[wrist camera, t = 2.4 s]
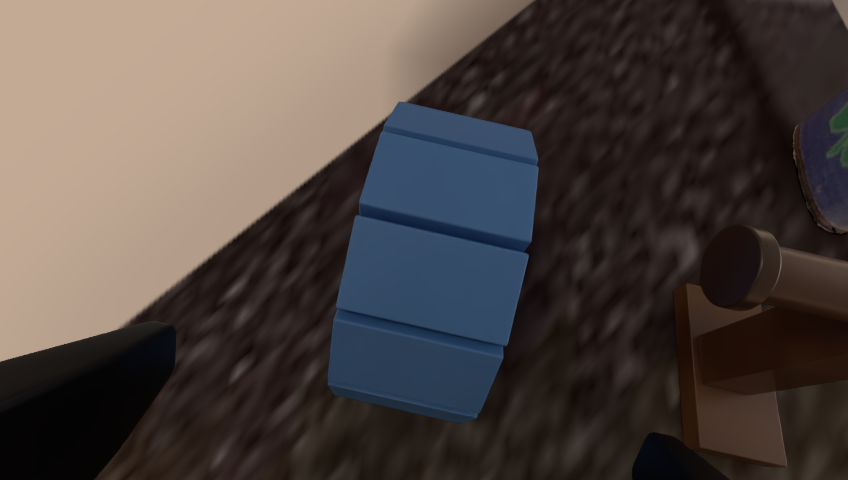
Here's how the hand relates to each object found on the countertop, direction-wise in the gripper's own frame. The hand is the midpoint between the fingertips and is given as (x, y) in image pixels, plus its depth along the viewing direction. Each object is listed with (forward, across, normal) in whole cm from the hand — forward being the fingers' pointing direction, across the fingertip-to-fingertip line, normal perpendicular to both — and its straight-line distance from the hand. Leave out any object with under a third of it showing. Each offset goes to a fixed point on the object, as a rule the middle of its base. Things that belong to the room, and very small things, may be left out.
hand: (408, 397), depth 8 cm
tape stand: (+13, -13, +5) cm, 19 cm away
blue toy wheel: (+13, 0, +5) cm, 14 cm away
